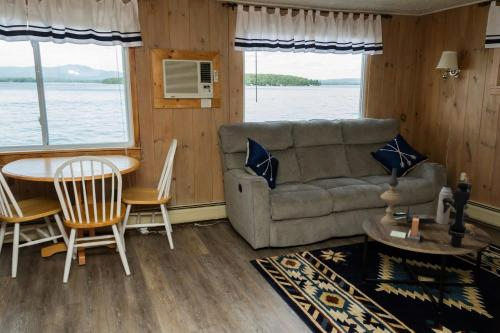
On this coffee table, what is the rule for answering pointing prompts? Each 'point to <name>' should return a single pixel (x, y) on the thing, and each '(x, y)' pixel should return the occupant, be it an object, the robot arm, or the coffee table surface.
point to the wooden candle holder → (391, 200)
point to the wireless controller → (419, 217)
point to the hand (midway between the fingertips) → (448, 218)
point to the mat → (398, 234)
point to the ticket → (414, 227)
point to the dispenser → (412, 238)
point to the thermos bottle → (441, 216)
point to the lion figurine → (471, 228)
